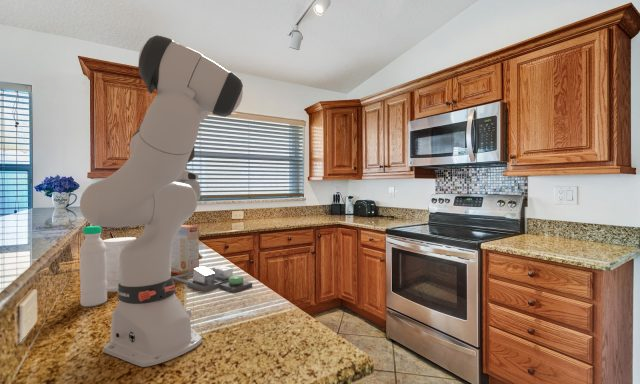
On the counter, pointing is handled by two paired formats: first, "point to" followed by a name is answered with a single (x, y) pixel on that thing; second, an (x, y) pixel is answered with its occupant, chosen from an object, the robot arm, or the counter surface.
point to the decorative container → (114, 260)
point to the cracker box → (185, 250)
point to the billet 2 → (222, 273)
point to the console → (235, 286)
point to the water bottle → (93, 268)
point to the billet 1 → (203, 276)
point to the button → (235, 280)
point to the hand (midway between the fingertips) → (172, 214)
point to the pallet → (206, 288)
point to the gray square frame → (182, 276)
